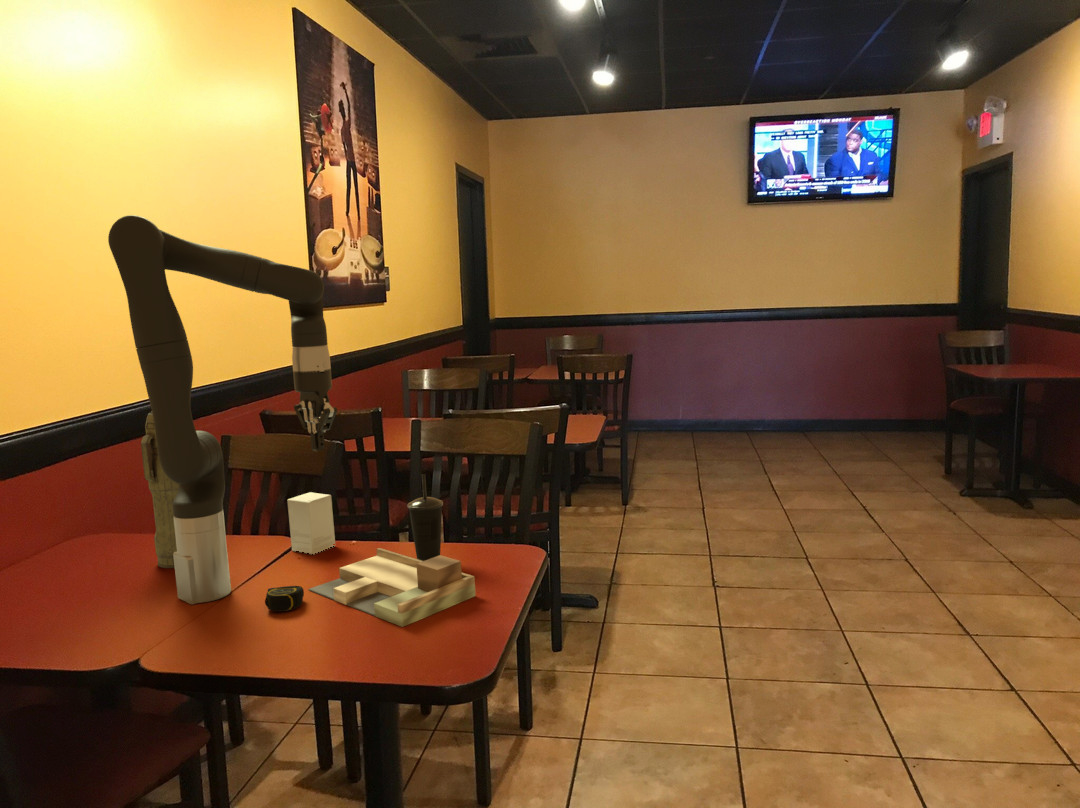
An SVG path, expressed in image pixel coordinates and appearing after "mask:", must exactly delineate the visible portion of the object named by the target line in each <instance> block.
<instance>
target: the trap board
mask: <svg viewBox="0 0 1080 808" xmlns="http://www.w3.org/2000/svg"><path fill="white" fill-rule="evenodd" d="M420 562H422V561H421V560H418V559H417V558H414V557H410V556H408V555H404V554H401V553H397V552H394V551H392V550H388V549H385V548H381V547H379V548H376V555H374V556H372V557H369V558H366V559H362V560H359V561H357V562H353V563H350V564H348V565H344V566H341V567H338V568H339V571H338V572H339V578H336V579H334V580H333V579H332V580H330V581H328V582H324V583H322V584H319V585H316V586H313V587H310V588H308V591H309V592H312V593H315V594H318V595H320V596H322V597H325V598H328V599H330V600H333V601H335V602H338V603H340V604H342V605H345V606H348V607H349V608H353V609H355V610H358V611H361V612H363V613H366V614H368V615H370V616H373V617H375V618H379V619H381V620H383V621H386V622H389V623H390V624H394V625H396V626H399V627H402V628H404V627H406V626H408V625H410V624H413V623H416V622H418V621H421V620H422V619H425V618H427V617H430V616H432V615H434V614H437V613H439V612H441V611H443V610H446V609H448V608H451V607H453V606H455V605H458V604H460V603H462V602H465V601H468V600H469V599H472V598H475V597H476V582H475V581H476V580H475V579H476V577H475V575H471V574H468V573H464V572H463V571H461V573H462V579H460V580H458V581H455V582H453V583H450V584H448V585H445V586H443V587H440V588H438V589H435V590H433V591H430V592H427V591H424V590H421V589H418V580H417V565H416V564H417V563H420Z"/></svg>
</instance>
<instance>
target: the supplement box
mask: <svg viewBox="0 0 1080 808" xmlns="http://www.w3.org/2000/svg"><path fill="white" fill-rule="evenodd" d="M287 511H288V521H289V531H290V543H291V551H292V552H296V551H299V552H298V553H302V552H304V553H303V554H307V553H309V554H308V555H312V554H313V555H316V554H318V552H319V553H322V552H324V551H326V550H325V549H327V550H329V549H331V548H330V547H332V548H334V547H336V539H335V538H336V535H335V525H334V514H333V501H332V495H331V494H327V493H326V494H325V493H317V492H312V491H309V492H307V493H302V494H301V495H300V494H299V495H297V496H294V497H291V498H288V499H287ZM333 544H335V545H333ZM333 546H334V547H333ZM328 548H329V549H328ZM323 550H324V551H323ZM321 551H322V552H321ZM315 553H316V554H315Z"/></svg>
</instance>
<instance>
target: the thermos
mask: <svg viewBox="0 0 1080 808" xmlns="http://www.w3.org/2000/svg"><path fill="white" fill-rule="evenodd" d="M145 420H146V421H145V425H144V428H145V435H144V436H142V439H141V442H140V448H141V456H142V457H141V458H142V465H143V466H142V467H143V475H144V479H145V481H147V482H148V484H147V485H148V489H149V491H150V493H151V497H152V506H153V514H154V523H155V525H154V526H155V534H154V536H153V537H154V538H153V539H154V547H155V556H156V557H157V566H158V567H159V568H162V569H163V568H164V569H175V566H174V557H173V553H174V552H177V546H176V536H175V527H174V517H173V509H172V504H173V501H174V499H175V497H176V495H177V493H178V490H179V483H176V482H174V481H172V480H171V479H170V478H169V477H167V475H166V474H165V473H164V471H163V469H162V467H161V464H160V460H159V455H158V447H157V439H156V432H155V424H154V418H153V413H152V410H151V411H150V412H149V413H148V414H147V416H146V419H145Z"/></svg>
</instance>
